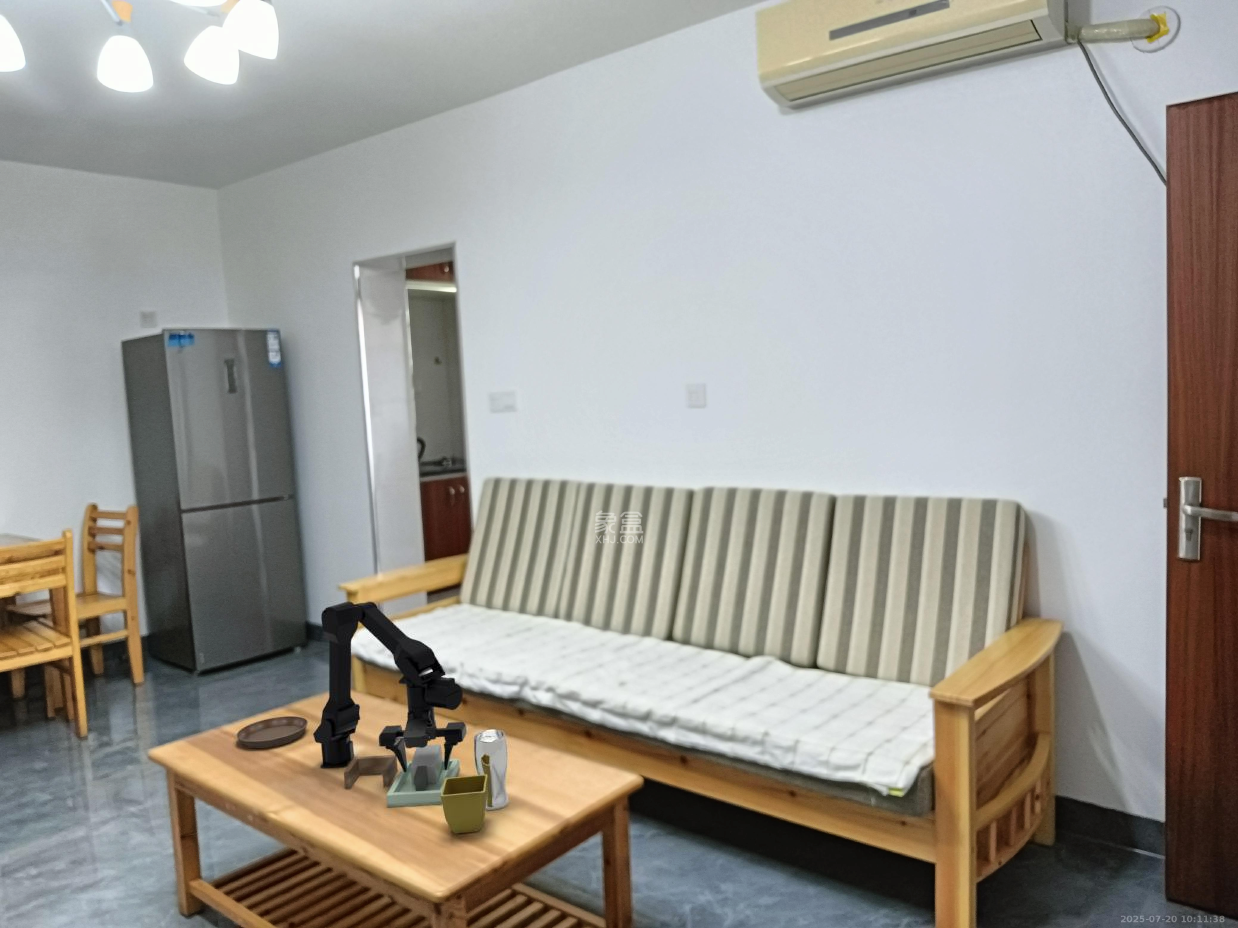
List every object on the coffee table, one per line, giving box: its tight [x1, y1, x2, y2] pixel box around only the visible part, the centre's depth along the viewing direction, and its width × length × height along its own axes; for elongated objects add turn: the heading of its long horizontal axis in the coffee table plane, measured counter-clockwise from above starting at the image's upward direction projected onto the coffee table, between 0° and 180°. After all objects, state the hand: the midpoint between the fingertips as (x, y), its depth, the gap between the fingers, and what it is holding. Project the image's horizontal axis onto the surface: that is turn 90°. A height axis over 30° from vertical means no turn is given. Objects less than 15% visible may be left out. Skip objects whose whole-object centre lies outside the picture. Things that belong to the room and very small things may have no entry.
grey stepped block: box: [410, 744, 444, 791], centre depth 206 cm, size 6×12×5 cm, turn 0°
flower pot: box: [441, 774, 488, 834], centre depth 184 cm, size 9×9×9 cm
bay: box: [343, 754, 399, 790], centre depth 210 cm, size 10×8×4 cm
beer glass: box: [473, 729, 509, 811], centre depth 194 cm, size 7×7×15 cm
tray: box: [386, 758, 461, 808], centre depth 204 cm, size 12×18×3 cm
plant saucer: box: [236, 715, 309, 749], centre depth 241 cm, size 18×18×3 cm
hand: (425, 770), depth 206 cm, fingers open, 9 cm apart
